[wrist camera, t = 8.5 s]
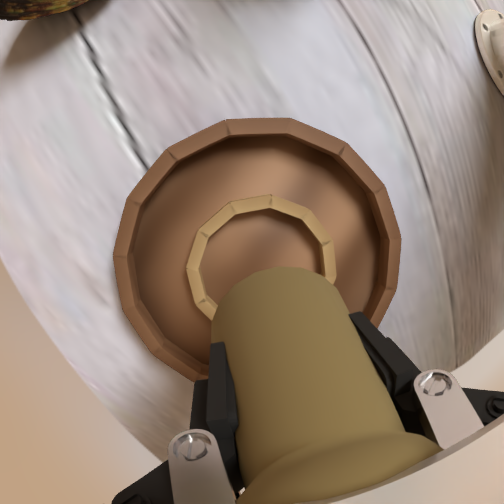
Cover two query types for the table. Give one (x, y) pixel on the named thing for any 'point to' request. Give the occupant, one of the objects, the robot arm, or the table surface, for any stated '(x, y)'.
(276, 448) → the cork
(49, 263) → the table surface
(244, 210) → the ring tray
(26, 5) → the seashell
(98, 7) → the table surface
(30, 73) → the table surface
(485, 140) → the table surface
